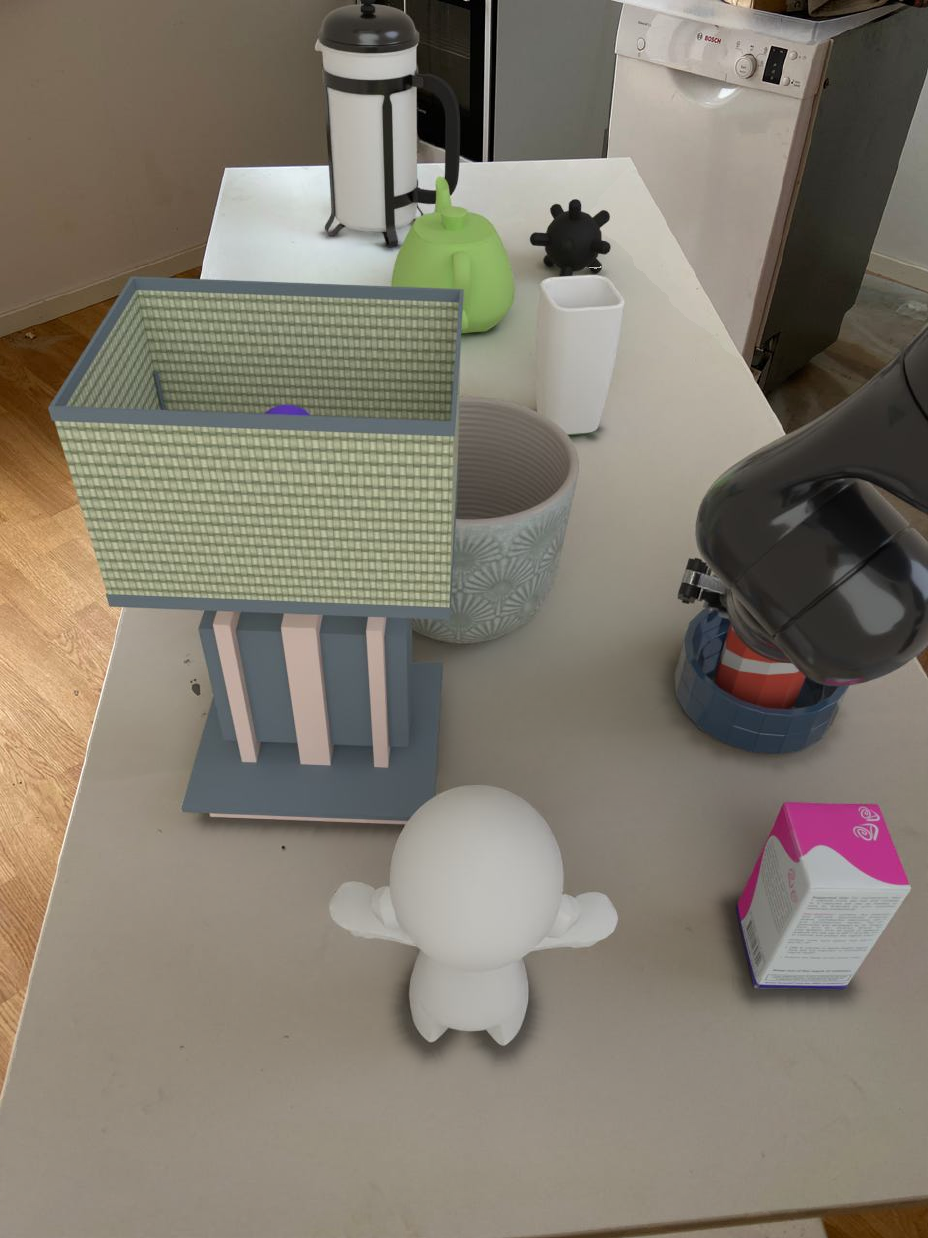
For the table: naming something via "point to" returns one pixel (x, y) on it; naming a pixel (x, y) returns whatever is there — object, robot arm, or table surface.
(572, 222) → the toy ball
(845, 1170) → the table surface
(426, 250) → the teapot
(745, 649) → the beverage can
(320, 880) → the table surface
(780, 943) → the supplement box
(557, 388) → the cup
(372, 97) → the coffee press
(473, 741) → the table surface
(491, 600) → the planter
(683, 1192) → the table surface
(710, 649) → the bowl
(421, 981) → the figurine
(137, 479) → the desk lamp
